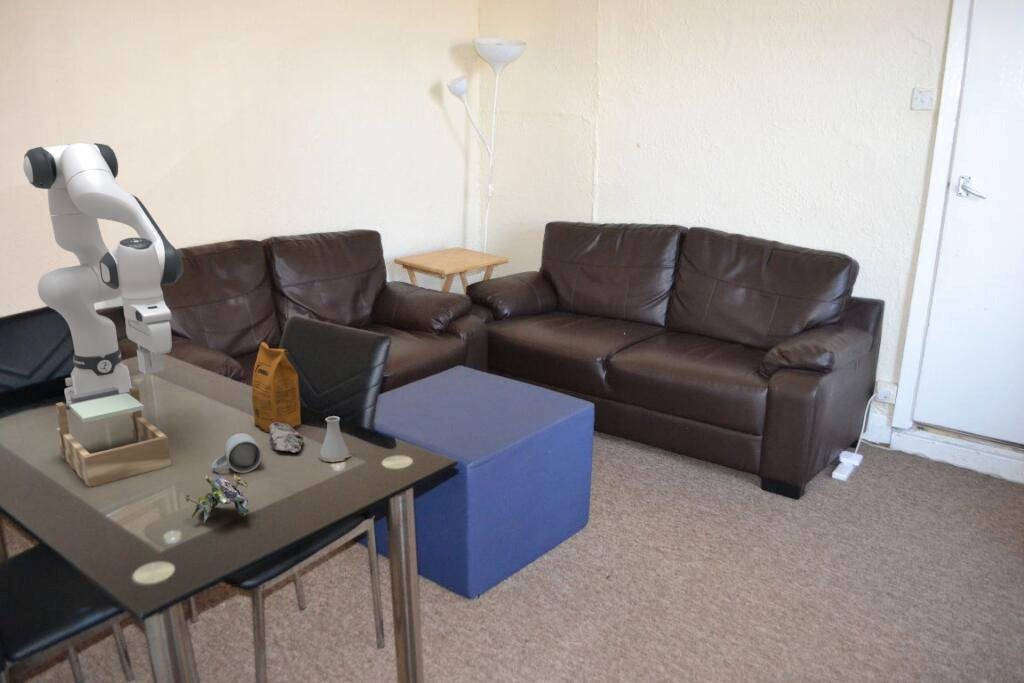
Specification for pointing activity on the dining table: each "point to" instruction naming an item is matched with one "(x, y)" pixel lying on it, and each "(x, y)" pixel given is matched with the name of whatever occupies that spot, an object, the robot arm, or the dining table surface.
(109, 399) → the trapdoor
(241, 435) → the ceramic mug
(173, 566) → the dining table surface
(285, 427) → the mineral rock
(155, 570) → the dining table surface
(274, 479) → the dining table surface
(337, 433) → the flask
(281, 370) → the coffee package
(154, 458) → the trapdoor frame
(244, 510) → the passion flower
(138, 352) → the light grey block
